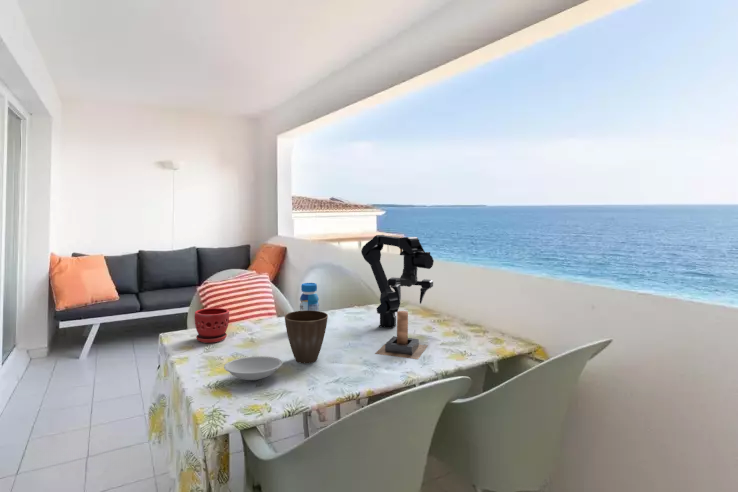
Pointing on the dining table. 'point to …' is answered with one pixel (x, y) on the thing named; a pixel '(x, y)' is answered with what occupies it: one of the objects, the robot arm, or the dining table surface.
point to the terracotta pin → (402, 327)
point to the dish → (253, 367)
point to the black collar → (402, 346)
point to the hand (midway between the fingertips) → (409, 302)
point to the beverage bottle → (309, 297)
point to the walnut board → (414, 356)
